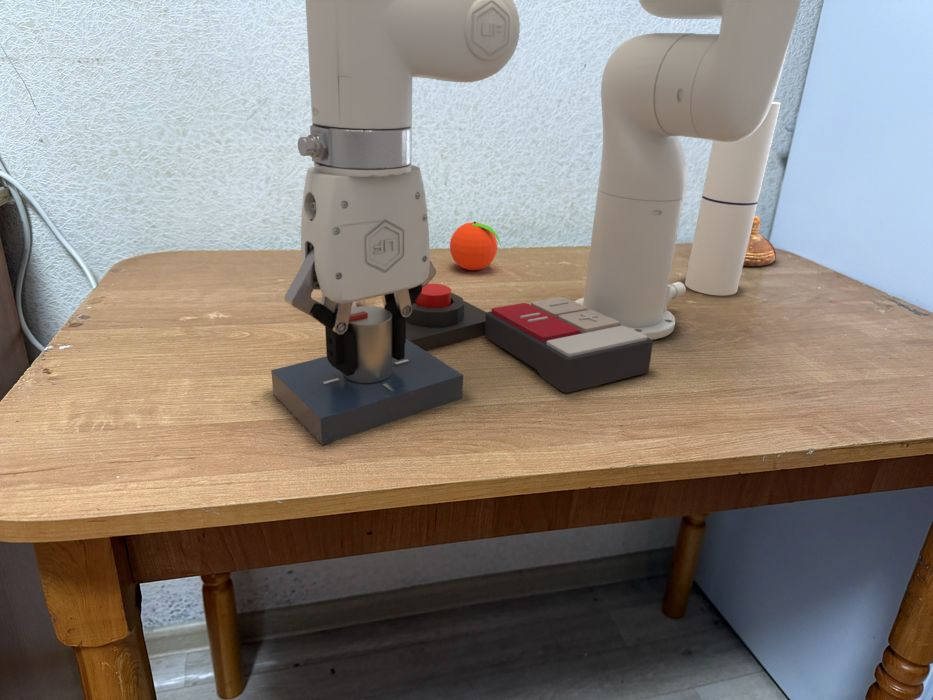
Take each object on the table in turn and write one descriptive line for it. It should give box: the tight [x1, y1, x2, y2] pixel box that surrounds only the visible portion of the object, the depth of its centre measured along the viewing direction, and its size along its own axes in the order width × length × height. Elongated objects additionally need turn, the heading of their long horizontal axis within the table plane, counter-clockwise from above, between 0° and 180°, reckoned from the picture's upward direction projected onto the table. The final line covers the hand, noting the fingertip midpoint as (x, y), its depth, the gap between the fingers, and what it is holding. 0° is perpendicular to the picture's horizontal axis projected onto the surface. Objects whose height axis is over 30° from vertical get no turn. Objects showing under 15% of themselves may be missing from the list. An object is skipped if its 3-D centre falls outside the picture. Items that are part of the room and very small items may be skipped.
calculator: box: [484, 296, 654, 394], centre depth 68 cm, size 11×4×15 cm
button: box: [415, 283, 452, 308], centre depth 72 cm, size 4×4×2 cm
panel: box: [270, 339, 464, 446], centre depth 58 cm, size 14×10×3 cm
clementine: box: [449, 221, 502, 272], centre depth 93 cm, size 8×7×7 cm
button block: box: [406, 292, 488, 351], centre depth 73 cm, size 12×9×4 cm
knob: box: [343, 305, 392, 383], centre depth 57 cm, size 4×4×6 cm
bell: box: [743, 215, 777, 267], centre depth 106 cm, size 12×12×7 cm
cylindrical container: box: [684, 101, 782, 297], centre depth 87 cm, size 7×7×25 cm
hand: (367, 359), depth 57 cm, fingers closed on knob, 4 cm apart
